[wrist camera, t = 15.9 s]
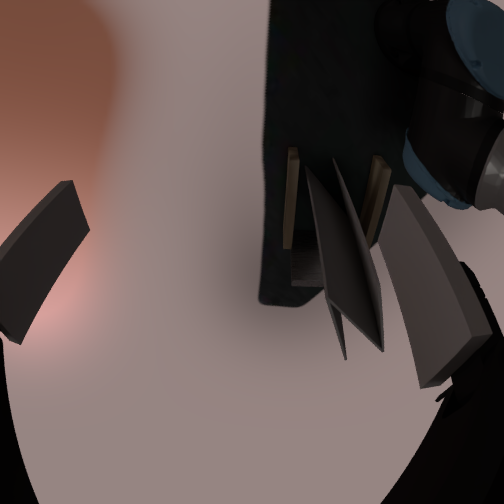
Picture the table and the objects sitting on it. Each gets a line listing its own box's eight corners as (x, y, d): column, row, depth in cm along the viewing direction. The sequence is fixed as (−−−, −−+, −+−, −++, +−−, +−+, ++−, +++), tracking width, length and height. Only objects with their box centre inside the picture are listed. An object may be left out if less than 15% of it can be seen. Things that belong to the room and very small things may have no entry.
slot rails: (380, 155, 46) (391, 170, 42) (362, 234, 58) (368, 252, 54) (288, 146, 47) (289, 160, 43) (283, 229, 59) (283, 248, 55)
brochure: (349, 219, 56) (384, 351, 34) (324, 226, 58) (344, 360, 35) (333, 157, 48) (380, 284, 25) (304, 165, 50) (325, 298, 27)
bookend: (355, 233, 58) (370, 282, 48) (354, 239, 59) (367, 288, 49) (290, 229, 59) (292, 279, 49) (289, 235, 60) (291, 285, 50)
